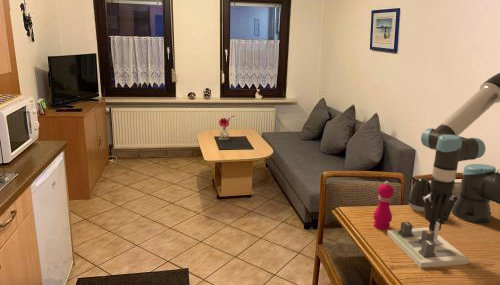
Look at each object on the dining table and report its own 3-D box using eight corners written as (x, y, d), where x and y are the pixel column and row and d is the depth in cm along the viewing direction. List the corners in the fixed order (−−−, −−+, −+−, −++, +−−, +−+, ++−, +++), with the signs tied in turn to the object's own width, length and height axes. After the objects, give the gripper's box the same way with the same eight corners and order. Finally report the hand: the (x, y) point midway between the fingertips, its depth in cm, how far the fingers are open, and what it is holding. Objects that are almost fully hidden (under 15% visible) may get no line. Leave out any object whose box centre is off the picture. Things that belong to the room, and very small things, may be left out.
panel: (428, 231, 159) (429, 226, 159) (467, 264, 137) (468, 258, 137) (386, 234, 156) (387, 229, 156) (420, 268, 134) (421, 262, 134)
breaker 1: (408, 231, 154) (410, 221, 153) (413, 236, 151) (414, 225, 150) (398, 232, 153) (399, 221, 152) (402, 236, 150) (403, 225, 149)
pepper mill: (391, 231, 158) (398, 185, 153) (373, 229, 160) (378, 183, 154) (389, 223, 165) (395, 178, 160) (371, 221, 167) (376, 177, 161)
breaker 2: (429, 251, 141) (431, 239, 140) (435, 256, 138) (437, 244, 137) (418, 252, 140) (420, 240, 139) (423, 257, 137) (425, 245, 136)
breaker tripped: (429, 240, 148) (431, 229, 147) (434, 244, 145) (436, 233, 144) (418, 241, 147) (420, 230, 146) (423, 245, 144) (425, 234, 143)
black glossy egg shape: (412, 202, 186) (417, 172, 182) (435, 210, 179) (440, 178, 175) (402, 209, 179) (407, 177, 175) (425, 216, 172) (430, 184, 168)
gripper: (452, 174, 144) (442, 232, 151) (420, 175, 142) (411, 234, 149) (466, 181, 137) (455, 242, 144) (433, 183, 135) (423, 244, 141)
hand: (433, 238), depth 146 cm, fingers closed
